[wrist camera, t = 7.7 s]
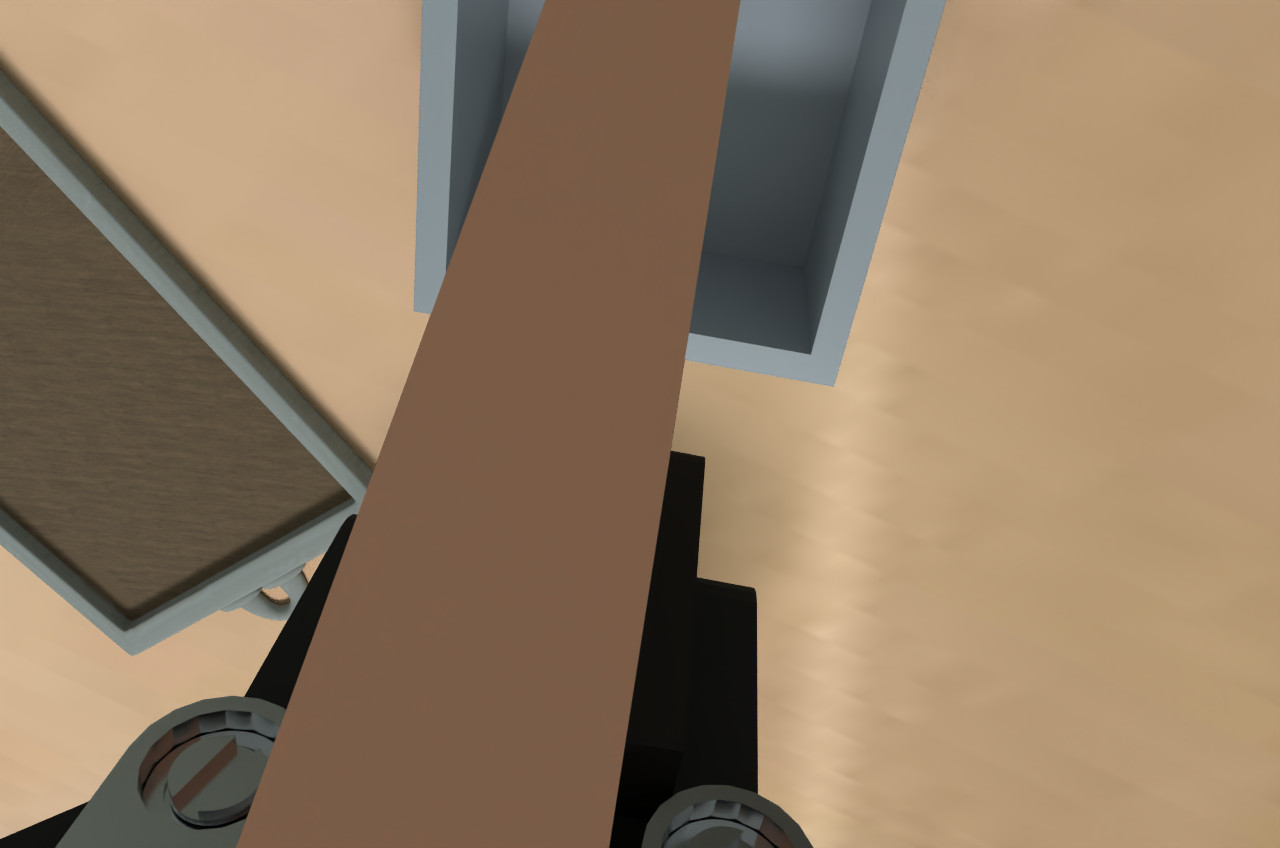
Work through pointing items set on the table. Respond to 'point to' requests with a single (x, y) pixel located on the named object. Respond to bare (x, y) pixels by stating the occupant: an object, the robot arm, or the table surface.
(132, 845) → the robot arm
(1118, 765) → the table surface
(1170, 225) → the table surface
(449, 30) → the bin
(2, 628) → the table surface
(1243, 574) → the table surface
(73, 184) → the grey flat rectangular tray
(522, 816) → the block
